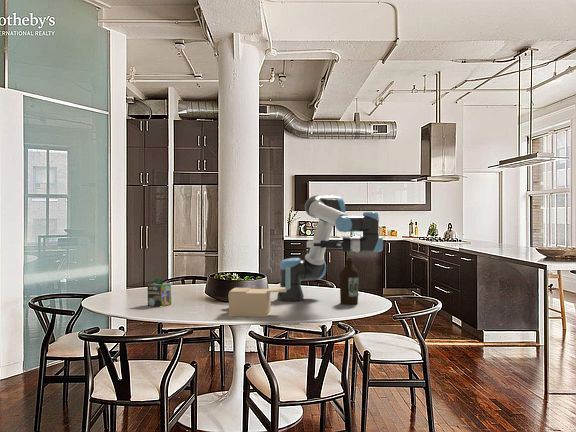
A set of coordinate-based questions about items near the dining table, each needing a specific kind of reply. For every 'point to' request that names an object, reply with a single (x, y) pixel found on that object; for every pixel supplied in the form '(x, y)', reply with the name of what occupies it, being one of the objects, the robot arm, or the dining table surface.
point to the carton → (249, 302)
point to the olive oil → (349, 284)
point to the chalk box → (159, 293)
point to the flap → (287, 283)
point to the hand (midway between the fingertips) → (307, 243)
